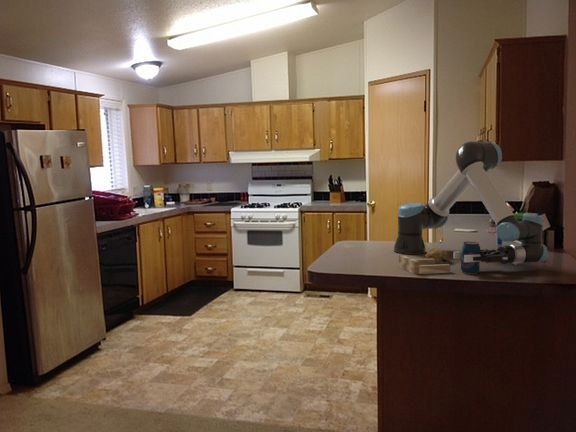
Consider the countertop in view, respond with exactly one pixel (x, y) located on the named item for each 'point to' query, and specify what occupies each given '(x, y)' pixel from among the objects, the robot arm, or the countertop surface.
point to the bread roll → (438, 255)
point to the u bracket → (422, 265)
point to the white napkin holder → (511, 243)
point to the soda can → (470, 249)
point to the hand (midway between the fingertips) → (459, 256)
